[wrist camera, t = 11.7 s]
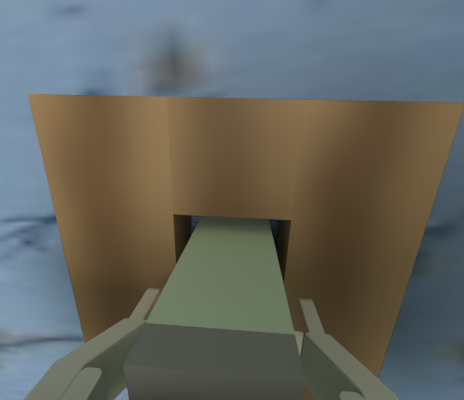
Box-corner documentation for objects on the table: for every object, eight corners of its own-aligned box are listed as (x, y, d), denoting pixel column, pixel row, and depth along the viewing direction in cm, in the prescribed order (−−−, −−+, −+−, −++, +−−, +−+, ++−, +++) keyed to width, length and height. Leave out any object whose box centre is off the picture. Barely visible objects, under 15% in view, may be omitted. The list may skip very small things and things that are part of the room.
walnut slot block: (407, 109, 11) (465, 102, 8) (345, 358, 16) (367, 410, 13) (82, 102, 12) (28, 94, 9) (121, 340, 16) (94, 384, 14)
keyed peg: (268, 217, 12) (305, 380, 4) (262, 296, 13) (280, 519, 6) (202, 214, 12) (123, 364, 4) (203, 292, 14) (146, 502, 6)
